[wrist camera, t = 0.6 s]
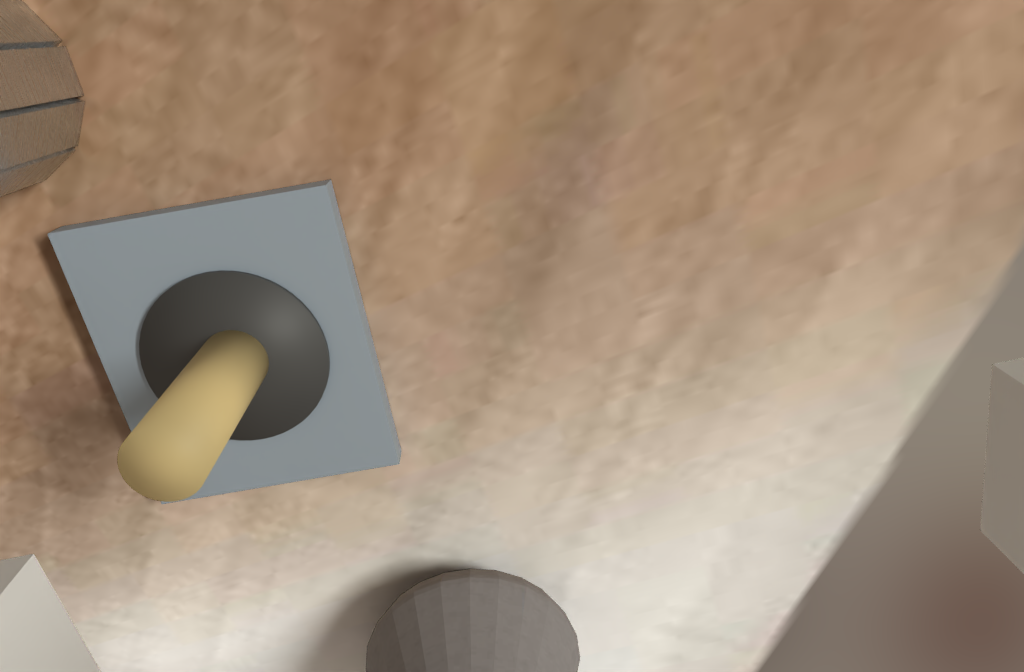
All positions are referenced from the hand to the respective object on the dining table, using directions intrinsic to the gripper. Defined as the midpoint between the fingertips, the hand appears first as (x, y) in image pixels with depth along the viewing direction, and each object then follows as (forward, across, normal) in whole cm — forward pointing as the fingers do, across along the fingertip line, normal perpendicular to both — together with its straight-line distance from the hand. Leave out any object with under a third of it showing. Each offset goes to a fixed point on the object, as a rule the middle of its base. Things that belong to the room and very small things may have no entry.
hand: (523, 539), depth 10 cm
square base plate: (+24, -13, -5) cm, 28 cm away
